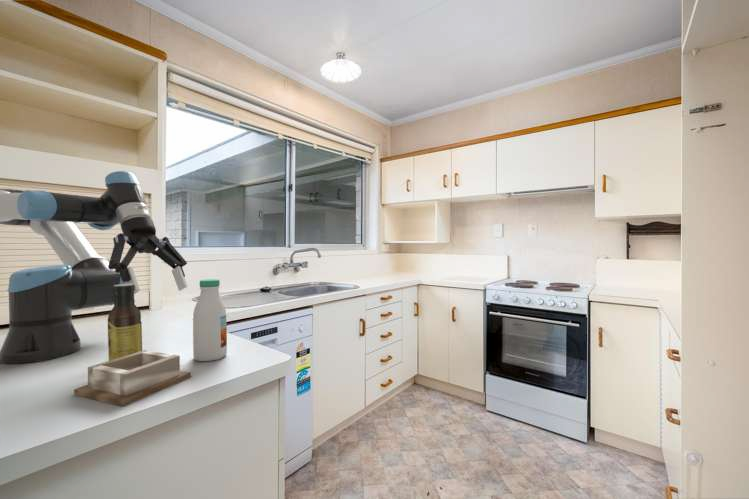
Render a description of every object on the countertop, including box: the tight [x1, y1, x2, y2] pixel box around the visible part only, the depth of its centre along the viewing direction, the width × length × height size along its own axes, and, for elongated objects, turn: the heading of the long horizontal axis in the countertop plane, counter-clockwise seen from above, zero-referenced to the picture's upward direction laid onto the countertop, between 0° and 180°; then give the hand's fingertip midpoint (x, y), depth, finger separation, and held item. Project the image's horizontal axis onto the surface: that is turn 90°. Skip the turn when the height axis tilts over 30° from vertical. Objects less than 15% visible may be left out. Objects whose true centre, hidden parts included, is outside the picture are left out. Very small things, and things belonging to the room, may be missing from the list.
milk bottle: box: [192, 278, 228, 362], centre depth 84 cm, size 8×8×20 cm
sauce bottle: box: [107, 284, 143, 361], centre depth 76 cm, size 6×6×20 cm
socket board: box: [73, 349, 192, 407], centre depth 67 cm, size 14×14×5 cm
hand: (160, 290), depth 88 cm, fingers open, 13 cm apart
